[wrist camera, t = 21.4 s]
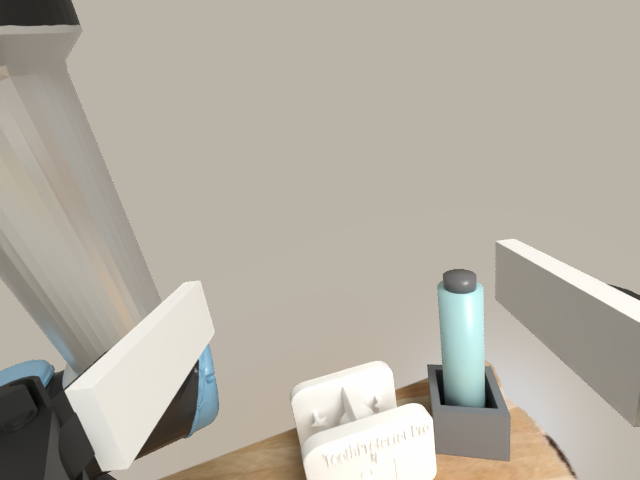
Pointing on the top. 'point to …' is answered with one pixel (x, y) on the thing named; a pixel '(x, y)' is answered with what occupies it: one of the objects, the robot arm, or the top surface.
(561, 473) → the top surface
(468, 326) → the teal bottle
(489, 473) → the top surface
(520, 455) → the top surface
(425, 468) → the white piece
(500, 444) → the block
